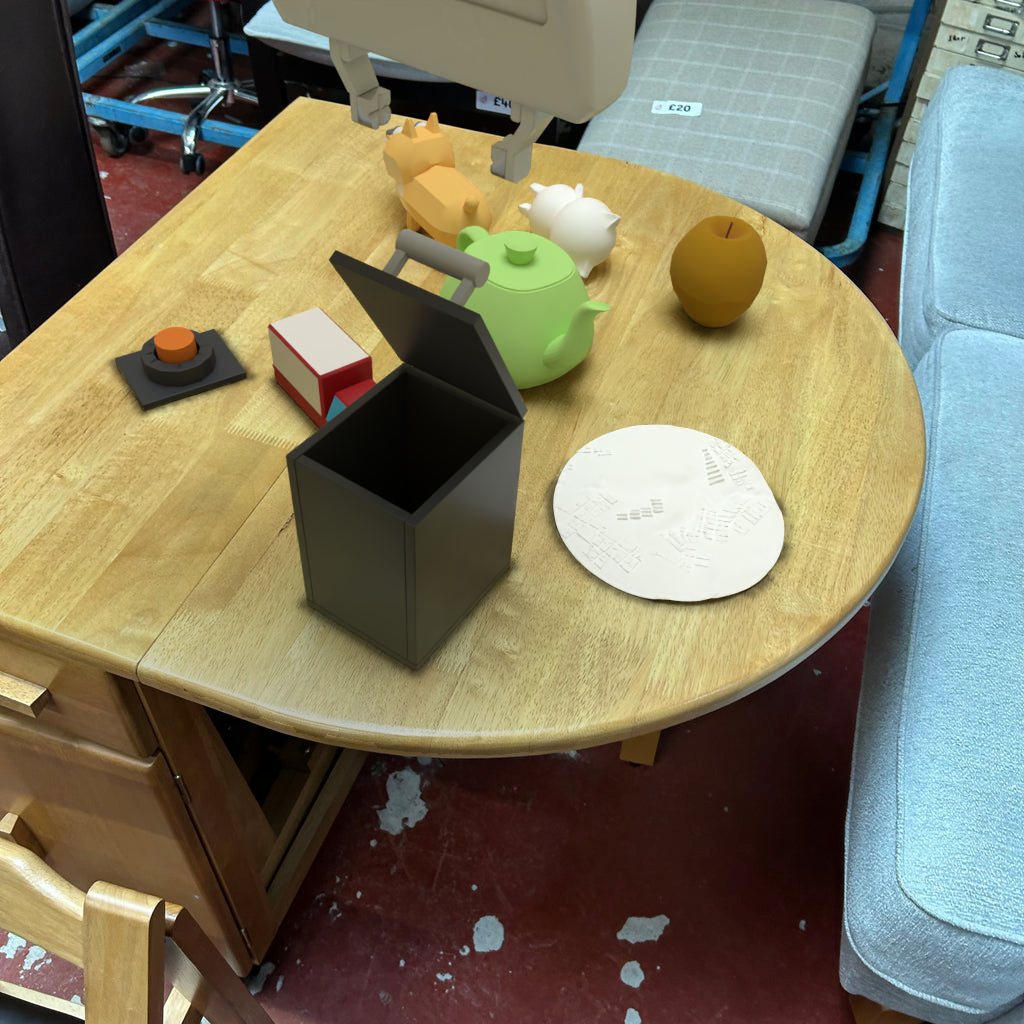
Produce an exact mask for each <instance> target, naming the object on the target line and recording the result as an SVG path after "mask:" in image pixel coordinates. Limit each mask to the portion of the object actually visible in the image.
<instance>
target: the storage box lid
mask: <svg viewBox="0 0 1024 1024" xmlns="http://www.w3.org/2000/svg"><path fill="white" fill-rule="evenodd" d="M394 244H395V245H394V247H395V248H394V249H395V250H394V252H393V253H392V255H391V257H390V258H389V260H388V261H387V263H386V264H385V266H384V267H383V269H382V270H381V269H379V268H377V267H375V266H373V265H370V264H368V263H366V262H364V261H362V260H360V259H357V258H355V257H353V256H350V255H348V254H346V253H343V252H342V251H339V250H336V249H335V250H334V251H333V253H332V254H331V256H330V257H329V259H328V261H329V263H330V264H331V265H332V267H333V269H334V270H335V271H336V272H337V274H338V275H339V277H340V278H341V279H342V281H343V282H344V283H345V285H346V286H347V288H348V289H349V290H350V292H351V293H352V294H353V296H354V297H355V299H356V300H357V302H358V303H359V304H360V306H361V308H363V310H364V312H365V313H366V314H367V315H368V317H369V318H370V319H371V321H372V322H373V324H374V325H375V327H376V328H377V330H378V331H379V332H380V334H381V335H382V337H383V338H384V339H385V340H386V342H387V344H388V345H389V346H390V348H391V349H392V350H393V352H394V353H395V354H396V356H397V357H398V358H399V360H400V361H401V362H402V363H406V364H409V365H411V366H413V367H415V368H417V369H419V370H421V371H423V372H425V373H427V374H429V375H431V376H433V377H436V378H438V379H440V380H442V381H444V382H446V383H448V384H450V385H452V386H454V387H456V388H458V389H460V390H463V391H465V392H467V393H469V394H471V395H473V396H475V397H477V398H479V399H481V400H483V401H485V402H487V403H490V404H492V405H494V406H496V407H498V408H500V409H502V410H504V411H506V412H508V413H510V414H512V415H514V416H517V417H519V418H521V419H523V420H524V418H525V416H526V415H527V412H529V409H528V407H527V405H526V403H525V401H524V399H523V397H522V395H521V393H520V391H519V389H517V387H516V385H515V383H514V381H513V379H512V377H511V375H510V373H509V371H508V369H507V367H506V365H505V363H504V361H503V359H502V357H501V355H500V353H499V351H498V349H497V347H496V345H495V343H494V341H493V339H492V337H491V335H490V333H489V331H488V329H487V327H486V325H485V323H484V321H483V319H482V317H481V315H480V314H479V313H476V312H474V311H472V310H470V309H467V308H465V307H464V305H465V304H466V302H467V301H468V299H469V297H470V296H471V294H472V293H473V291H474V290H475V288H481V287H482V286H483V285H484V284H485V283H486V281H487V279H488V277H489V274H490V265H489V263H488V262H486V261H483V260H481V259H478V258H476V257H474V256H471V255H469V254H467V253H464V252H462V251H459V250H457V249H455V248H452V247H450V246H448V245H445V244H443V243H440V242H438V241H436V240H435V239H434V238H431V237H429V236H426V235H424V234H421V233H419V232H418V231H416V232H414V231H412V230H410V229H408V228H404V229H402V230H401V231H400V232H399V233H398V235H397V237H396V239H395V243H394ZM409 260H412V261H414V262H416V263H419V264H421V265H423V266H426V267H428V268H430V269H433V270H435V271H437V272H440V273H442V274H444V275H447V276H448V275H449V276H451V277H453V278H456V279H458V280H460V281H461V283H460V284H459V286H458V287H457V289H456V291H455V292H454V294H453V295H452V297H451V298H450V300H447V299H445V298H443V297H440V296H439V295H438V294H436V293H434V292H432V291H429V290H427V289H425V288H422V287H420V286H418V285H415V284H413V283H411V282H409V281H406V280H404V279H402V278H400V277H398V276H399V274H400V273H401V272H402V270H403V268H404V267H405V266H406V264H407V263H408V261H409Z"/></svg>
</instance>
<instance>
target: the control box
mask: <svg viewBox="0 0 1024 1024" xmlns="http://www.w3.org/2000/svg"><path fill="white" fill-rule="evenodd" d="M189 330H190V331H192V333H193V334H194V338H195V343H196V347H197V354H196V356H195V357H194V358H192V359H191V360H189V361H185V362H182V363H165V362H162V361H161V360H160V359H159V358H158V355H157V351H156V347H155V343H154V338H155V336H156V334H154V335H153V336H152V337H151V338H149V339H148V340H147V341H145V342H144V343H143V344H142V346H141V350H137V351H133V352H129V353H127V354H123V355H119V356H117V357H115V358H114V361H115V364H116V366H117V368H118V369H119V371H120V373H121V374H122V375H123V377H124V379H125V381H126V383H127V384H128V386H129V388H130V389H131V391H132V392H133V394H134V396H135V398H136V399H137V401H138V402H139V404H140V406H141V408H142V409H143V411H148V410H150V409H153V408H156V407H159V406H163V405H167V404H170V403H172V402H175V401H179V400H182V399H184V398H187V397H190V396H194V395H197V394H200V393H204V392H206V391H209V390H212V389H215V388H218V387H221V386H225V385H229V384H231V383H234V382H238V381H241V380H243V379H246V378H247V377H248V376H247V371H246V370H245V369H244V367H243V366H242V364H241V363H240V362H239V360H238V359H237V358H236V356H235V355H234V353H233V352H232V350H231V349H230V348H229V347H228V345H227V344H226V343H225V341H224V340H223V339H222V337H221V335H220V334H219V333H218V332H217V330H216V329H215V328H212V329H209V330H205V331H202V332H199V331H196V330H194V329H189Z"/></svg>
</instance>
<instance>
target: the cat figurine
mask: <svg viewBox="0 0 1024 1024" xmlns="http://www.w3.org/2000/svg"><path fill="white" fill-rule="evenodd" d="M584 190H585V187H584V184H583V183H579V182H577V184H576V185H575V188H573V187H571V186H569V185H567V184H562V183H557V184H552V185H549V186H545V185H543V184H541V183H538V182H533V183H532V184H530V185H529V191H530V192H531V194H532V195H533V196H534V200H533V202H532V203H530V202H529V203H528V202H524V203H521V204H519V205H518V211H519V213H520V214H521V215H523V217H525V218H526V219H527V220H528V225H529V229H530V230H531V233H534V234H537V235H539V236H542V237H544V238H546V239H548V240H550V241H552V242H553V243H555V244H557V245H558V246H559V247H560V248H562V249H563V250H564V251H565V252H566V253H567V254H568V255H569V256H570V258H571V259H572V261H573V262H574V264H575V266H576V268H577V269H578V271H579V274H580V276H581V278H582V279H587V278H588V277H589V276H590V274H591V272H592V271H593V269H594V268H595V267H596V266H598V265H600V264H601V263H602V262H604V261H605V260H606V259H607V258H608V257H609V256H610V255H611V254H612V252H613V250H614V248H615V245H616V241H617V237H618V235H617V234H618V231H617V227H618V225H619V224H620V222H621V220H622V217H621V216H620V215H619V214H616V213H613V212H612V210H611V209H610V208H609V207H608V206H607V205H606V203H604V202H603V201H601V200H599V199H597V198H593V197H584Z"/></svg>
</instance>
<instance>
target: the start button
mask: <svg viewBox="0 0 1024 1024" xmlns="http://www.w3.org/2000/svg"><path fill="white" fill-rule="evenodd" d="M190 330H191V329H190V328H187V327H183V326H170V327H165V328H164V329H161V330H160V331H158V332H157V333H156V334H155V335H156V336H155V335H154V336H155V338H154V343H155V347H156V351H157V355H158V358H159V359H160V360H161V361H162V362H165V363H182V362H185V361H189V360H191V359H192V358H194V357H195V356H196V354H197V347H196V343H195V338H194V334H193V333H192V331H190Z"/></svg>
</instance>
